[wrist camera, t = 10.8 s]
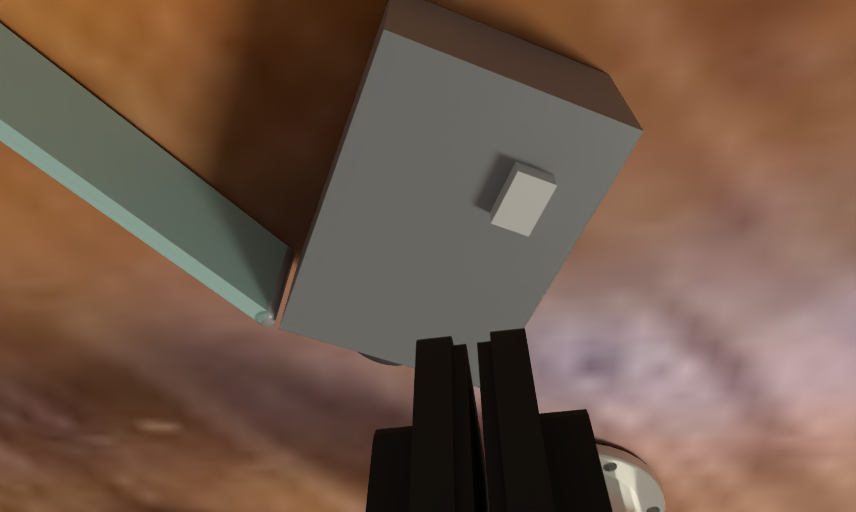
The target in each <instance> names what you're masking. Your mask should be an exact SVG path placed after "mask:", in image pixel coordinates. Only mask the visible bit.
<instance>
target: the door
mask: <svg viewBox="0 0 856 512" xmlns="http://www.w3.org/2000/svg"><path fill="white" fill-rule="evenodd" d="M0 141H2V142H3V143H4V144H6V145H7V146H9V147H10V148H11V149H13V150H14V151H16V152H17V153H19V154H20V155H21V156H23V157H24V158H26V159H27V160H29V161H30V162H31V163H33V164H34V165H36V166H37V167H38V168H40V169H41V170H43V171H44V172H46V173H47V174H48V175H50V176H51V177H53V178H54V179H55V180H57V181H58V182H60V183H61V184H63V185H64V186H65V187H67V188H68V189H70V190H71V191H73V192H74V193H75V194H77V195H78V196H80V197H81V198H82V199H84V200H85V201H87V202H88V203H90V204H91V205H92V206H94V207H95V208H97V209H98V210H100V211H101V212H102V213H104V214H105V215H107V216H108V217H109V218H111V219H112V220H114V221H115V222H117V223H118V224H119V225H121V226H122V227H124V228H125V229H126V230H128V231H129V232H131V233H132V234H134V235H135V236H136V237H138V238H139V239H141V240H142V241H144V242H145V243H146V244H148V245H149V246H151V247H152V248H153V249H155V250H156V251H158V252H159V253H161V254H162V255H163V256H165V257H166V258H168V259H169V260H170V261H172V262H173V263H175V264H176V265H178V266H179V267H180V268H182V269H183V270H185V271H186V272H188V273H189V274H190V275H192V276H193V277H195V278H196V279H197V280H199V281H200V282H202V283H203V284H205V285H206V286H207V287H209V288H210V289H212V290H213V291H215V292H216V293H217V294H219V295H220V296H222V297H223V298H224V299H226V300H227V301H229V302H230V303H232V304H233V305H234V306H236V307H237V308H239V309H240V310H241V311H243V312H244V313H246V314H247V315H249V316H250V317H251V318H253V319H254V320H256V322H257V323H258V324H260V325H262V326H271V325H273V324H274V323H275V320H276V317H277V313H278V310H279V307H280V303H281V300H282V297H283V293H284V290H285V287H286V283H287V280H288V277H289V273H290V270H291V267H292V263H293V260H294V257H295V252H294V250H293V249H292V248H291V247H289V246H287V245H286V244H284V243H283V242H282V241H281V240H279V239H278V238H277V237H275V236H274V235H273V234H271V233H270V232H269V231H268V230H266V229H265V228H264V227H262V226H261V225H260V224H259V223H257V222H256V221H255V220H253V219H252V218H251V217H250V216H248V215H247V214H246V213H244V212H243V211H242V210H241V209H239V208H238V207H237V206H235V205H234V204H233V203H232V202H230V201H229V200H228V199H226V198H225V197H224V196H222V195H221V194H220V193H219V192H217V191H216V190H215V189H213V188H212V187H211V186H210V185H208V184H207V183H206V182H204V181H203V180H202V179H201V178H199V177H198V176H197V175H195V174H194V173H193V172H192V171H190V170H189V169H188V168H186V167H185V166H184V165H183V164H181V163H180V162H179V161H177V160H176V159H175V158H174V157H172V156H171V155H170V154H168V153H167V152H166V151H164V150H163V149H162V148H161V147H159V146H158V145H157V144H155V143H154V142H153V141H152V140H150V139H149V138H148V137H146V136H145V135H144V134H143V133H141V132H140V131H139V130H137V129H136V128H135V127H134V126H132V125H131V124H130V123H128V122H127V121H126V120H125V119H123V118H122V117H121V116H119V115H118V114H117V113H116V112H114V111H113V110H112V109H110V108H109V107H108V106H106V105H105V104H104V103H103V102H101V101H100V100H99V99H97V98H96V97H95V96H94V95H92V94H91V93H90V92H88V91H87V90H86V89H85V88H83V87H82V86H81V85H79V84H78V83H77V82H76V81H74V80H73V79H72V78H70V77H69V76H68V75H67V74H65V73H64V72H63V71H61V70H60V69H59V68H57V67H56V66H55V65H54V64H52V63H51V62H50V61H48V60H47V59H46V58H45V57H43V56H42V55H41V54H39V53H38V52H37V51H36V50H34V49H33V48H32V47H30V46H29V45H28V44H27V43H25V42H24V41H23V40H21V39H20V38H19V37H18V36H16V35H15V34H14V33H12V32H11V31H10V30H9V29H7V28H6V27H5V26H3V25H2V24H1V23H0Z"/></svg>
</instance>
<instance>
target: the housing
mask: <svg viewBox="0 0 856 512" xmlns="http://www.w3.org/2000/svg"><path fill="white" fill-rule="evenodd" d="M643 132H644V131H643V129H642V128H641V126H640V124H639V123H638V121H637V119H636V118H635V116H634V114H633V113H632V111H631V110H630V108H629V106H628V105H627V103H626V101H625V100H624V98H623V97H622V95H621V93H620V92H619V90H618V88H617V87H616V85H615V84H614V82H613V80H612V79H611V77H610V75H608V74H606V73H604V72H601V71H599V70H596V69H594V68H591V67H589V66H586V65H584V64H581V63H579V62H576V61H574V60H571V59H569V58H567V57H564V56H562V55H559V54H557V53H554V52H552V51H549V50H547V49H544V48H542V47H539V46H537V45H535V44H532V43H530V42H527V41H525V40H522V39H520V38H517V37H515V36H512V35H510V34H507V33H505V32H502V31H500V30H498V29H495V28H493V27H490V26H488V25H485V24H483V23H480V22H478V21H475V20H473V19H470V18H468V17H466V16H463V15H461V14H458V13H456V12H453V11H451V10H448V9H446V8H443V7H441V6H438V5H436V4H433V3H431V2H429V1H426V0H388V2H387V5H386V8H385V11H384V14H383V17H382V20H381V23H380V26H379V28H378V31H377V34H376V37H375V40H374V43H373V46H372V49H371V52H370V54H369V57H368V60H367V63H366V66H365V69H364V72H363V75H362V78H361V80H360V83H359V86H358V89H357V92H356V95H355V98H354V101H353V104H352V106H351V109H350V112H349V115H348V118H347V121H346V124H345V127H344V130H343V132H342V135H341V138H340V141H339V144H338V147H337V150H336V153H335V156H334V158H333V161H332V164H331V167H330V170H329V173H328V176H327V179H326V182H325V184H324V187H323V190H322V193H321V196H320V199H319V202H318V205H317V208H316V210H315V213H314V216H313V219H312V222H311V225H310V228H309V231H308V234H307V236H306V239H305V242H304V245H303V248H302V251H301V254H300V257H299V261H298V264H297V268H296V271H295V275H294V278H293V282H292V285H291V289H290V292H289V296H288V299H287V303H286V306H285V310H284V313H283V317H282V320H281V323H280V327H279V329H281V330H285V331H288V332H292V333H295V334H299V335H302V336H305V337H309V338H312V339H316V340H319V341H322V342H326V343H329V344H333V345H336V346H340V347H343V348H346V349H350V350H353V351H357V352H358V353H360V354H361V355H363V356H365V357H366V358H368V359H370V360H373V361H375V362H378V363H381V364H385V365H394V366H399V365H405V366H408V367H411V368H415V354H416V341H417V340H419V339H428V338H437V337H446V336H452V339H453V344H454V345H459V344H466V345H467V351H468V357H469V364H470V370H471V376H472V383H473V386H476V387H480V378H479V365H478V351H477V343H478V342H487V341H491V340H490V332H492V331H501V330H511V329H520V328H524V327H525V326H526V324H527V322H528V321H529V319H530V317H531V316H532V314H533V312H534V311H535V309H536V307H537V306H538V304H539V303H540V301H541V299H542V298H543V296H544V294H545V293H546V291H547V289H548V288H549V286H550V284H551V283H552V281H553V280H554V278H555V276H556V275H557V273H558V271H559V270H560V268H561V266H562V265H563V263H564V261H565V260H566V258H567V257H568V255H569V253H570V252H571V250H572V248H573V247H574V245H575V243H576V242H577V240H578V238H579V237H580V235H581V234H582V232H583V230H584V229H585V227H586V225H587V224H588V222H589V220H590V219H591V217H592V215H593V214H594V212H595V211H596V209H597V207H598V206H599V204H600V202H601V201H602V199H603V197H604V196H605V194H606V192H607V191H608V189H609V188H610V186H611V184H612V183H613V181H614V179H615V178H616V176H617V174H618V173H619V171H620V169H621V168H622V166H623V164H624V163H625V161H626V160H627V158H628V156H629V155H630V153H631V151H632V150H633V148H634V146H635V145H636V143H637V141H638V140H639V138H640V137H641V135H642V133H643Z"/></svg>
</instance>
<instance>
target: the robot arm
mask: <svg viewBox="0 0 856 512" xmlns="http://www.w3.org/2000/svg"><path fill="white" fill-rule="evenodd" d="M490 340H491V341H487V342H478V343H477V351H478V365H479V378H480V392H481V406H482V420H483V434H484V448H485V460H484V453H483V447H482V441H481V434H480V428H479V421H478V415H477V408H476V402H475V396H474V389H473V383H472V376H471V370H470V364H469V357H468V351H467V345H466V344H459V345H454V344H453V339H452V336H446V337H437V338H428V339H419V340H417V341H416V354H415V378H414V402H413V425H412V426H408V427H398V428H388V429H378V430H376V432H375V434H374V439H373V446H372V455H371V465H370V475H369V484H368V494H367V504H366V512H664V511H665V501H664V495H663V492H662V489H661V486H660V484H659V481H658V478H657V477H656V476H655V474H654V473H653V471H652V470H651V469H650V468H649V467H648V466H647V465H646V464H645V463H643V462H642V461H641V460H640V459H638V458H636V457H635V456H633V455H631V454H629V453H627V452H625V451H622V450H619V449H616V448H613V447H610V446H605V445H599V444H596V442H595V438H594V434H593V430H592V426H591V422H590V418H589V415H588V412H587V410H586V409H583V410H573V411H563V412H552V413H542V414H539V410H538V404H537V398H536V392H535V386H534V380H533V374H532V368H531V362H530V356H529V350H528V344H527V338H526V333H525V328H520V329H511V330H501V331H492V332H490ZM485 462H486V468H485ZM486 475H487V476H486Z"/></svg>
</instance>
